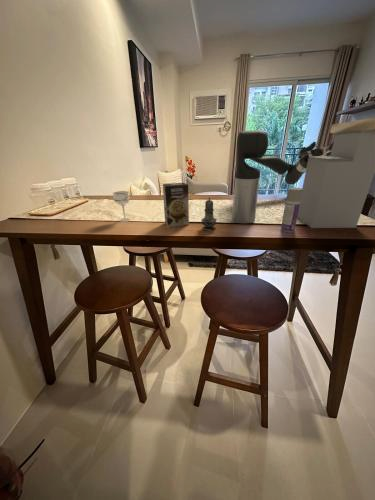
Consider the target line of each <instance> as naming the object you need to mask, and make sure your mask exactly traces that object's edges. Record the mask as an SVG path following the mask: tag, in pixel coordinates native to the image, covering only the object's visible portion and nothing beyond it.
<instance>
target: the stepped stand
mask: <svg viewBox="0 0 375 500" xmlns="http://www.w3.org/2000/svg"><path fill="white" fill-rule="evenodd" d="M333 142H334V144H333V148H332V152H331V155H330V156H313V157H309V158H308V163H307V168H306V172H305V173H304V178H303V182H302V183H303V184H302V187H301V188H302V189H303V190H302V196H301V202H300V207H299V212H298V216H297V219H298V220H299V221H302V223H305V225H307V226H308V227H309V228H311V229H329V228H330V229H336V228H337V229H338V228H339V229H342V228H343V229H345V228H346V229H351V228H353V229H355V228H357V226H358V223H359V219H360V217H361V215H362V211H363V208H364V205H365V202H366V200H367V196H368V193H369V191H370V187H371V185H372V182H373V179H374V176H375V129H370V130H354V131H344V132H336V133H335V137H334V140H333Z"/></svg>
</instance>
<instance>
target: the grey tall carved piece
mask: <svg viewBox="0 0 375 500" xmlns="http://www.w3.org/2000/svg"><path fill="white" fill-rule="evenodd" d="M204 204H205V205H204V207H205V208H204V210H203V211H204V218H202V219H201V224H202V225H203V227H202V228H201V230H202V231H205V232H213V231H215V230H216V229H217V228H216V227H215V225H216V223H217V221H218V219H216V218H215V217H214V211H215V209H214V201H213V200H211V198H210V197H208V200H206V201H205V203H204Z"/></svg>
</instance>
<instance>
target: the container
mask: <svg viewBox="0 0 375 500" xmlns="http://www.w3.org/2000/svg"><path fill="white" fill-rule="evenodd" d="M302 190H303V189H302V187H288V189H287V194H286V198H285V204H284V209H283V214H282V220H281V224H280V225H281V226H280V231H282V232H285V233H294V232H295V230H296V227H297V226H296V225H297V221H298V217H297V216H298V212H299V207H300V202H301V196H302Z"/></svg>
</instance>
